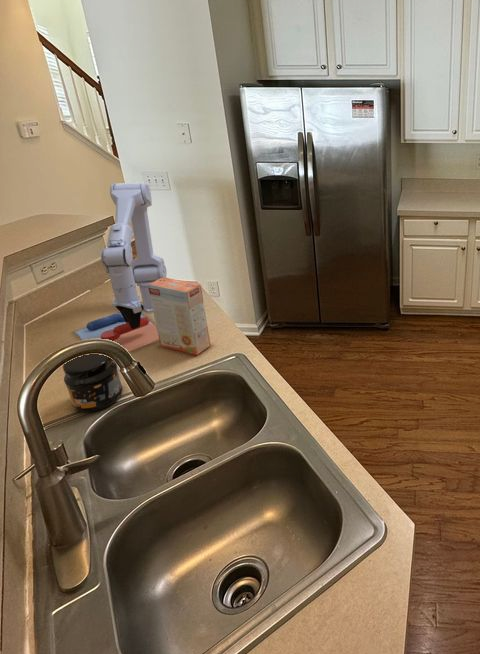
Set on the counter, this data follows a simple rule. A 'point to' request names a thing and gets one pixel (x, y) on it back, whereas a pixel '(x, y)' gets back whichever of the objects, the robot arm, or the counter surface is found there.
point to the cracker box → (179, 315)
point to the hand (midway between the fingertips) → (133, 325)
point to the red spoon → (122, 330)
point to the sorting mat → (125, 335)
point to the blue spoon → (105, 321)
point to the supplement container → (92, 382)
